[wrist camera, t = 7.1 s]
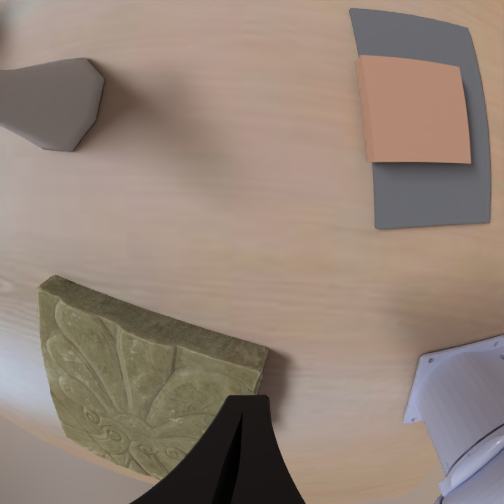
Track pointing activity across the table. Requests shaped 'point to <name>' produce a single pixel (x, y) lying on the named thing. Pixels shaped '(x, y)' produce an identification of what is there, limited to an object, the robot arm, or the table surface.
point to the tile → (412, 110)
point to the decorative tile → (137, 376)
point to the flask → (51, 102)
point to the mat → (429, 173)
